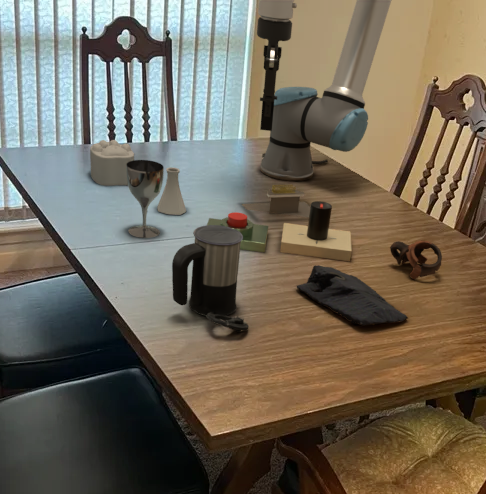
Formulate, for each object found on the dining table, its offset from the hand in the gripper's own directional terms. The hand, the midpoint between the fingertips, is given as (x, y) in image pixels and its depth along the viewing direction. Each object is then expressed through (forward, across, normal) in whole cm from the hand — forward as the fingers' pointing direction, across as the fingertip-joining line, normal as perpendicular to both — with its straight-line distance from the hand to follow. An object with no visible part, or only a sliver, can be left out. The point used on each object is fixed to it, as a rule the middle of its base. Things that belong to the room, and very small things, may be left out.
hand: (266, 129), depth 180 cm
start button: (+17, -18, +5) cm, 25 cm away
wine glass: (+20, -20, +26) cm, 38 cm away
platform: (+21, +3, -6) cm, 22 cm away
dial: (+18, -17, -14) cm, 28 cm away
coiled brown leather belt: (+21, -25, -36) cm, 48 cm away
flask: (+20, -5, +21) cm, 30 cm away
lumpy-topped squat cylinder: (+21, +14, +39) cm, 47 cm away
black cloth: (+20, -46, -20) cm, 54 cm away
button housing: (+20, -18, +5) cm, 28 cm away
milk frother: (+20, -57, +6) cm, 60 cm away
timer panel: (+21, -17, -14) cm, 30 cm away
